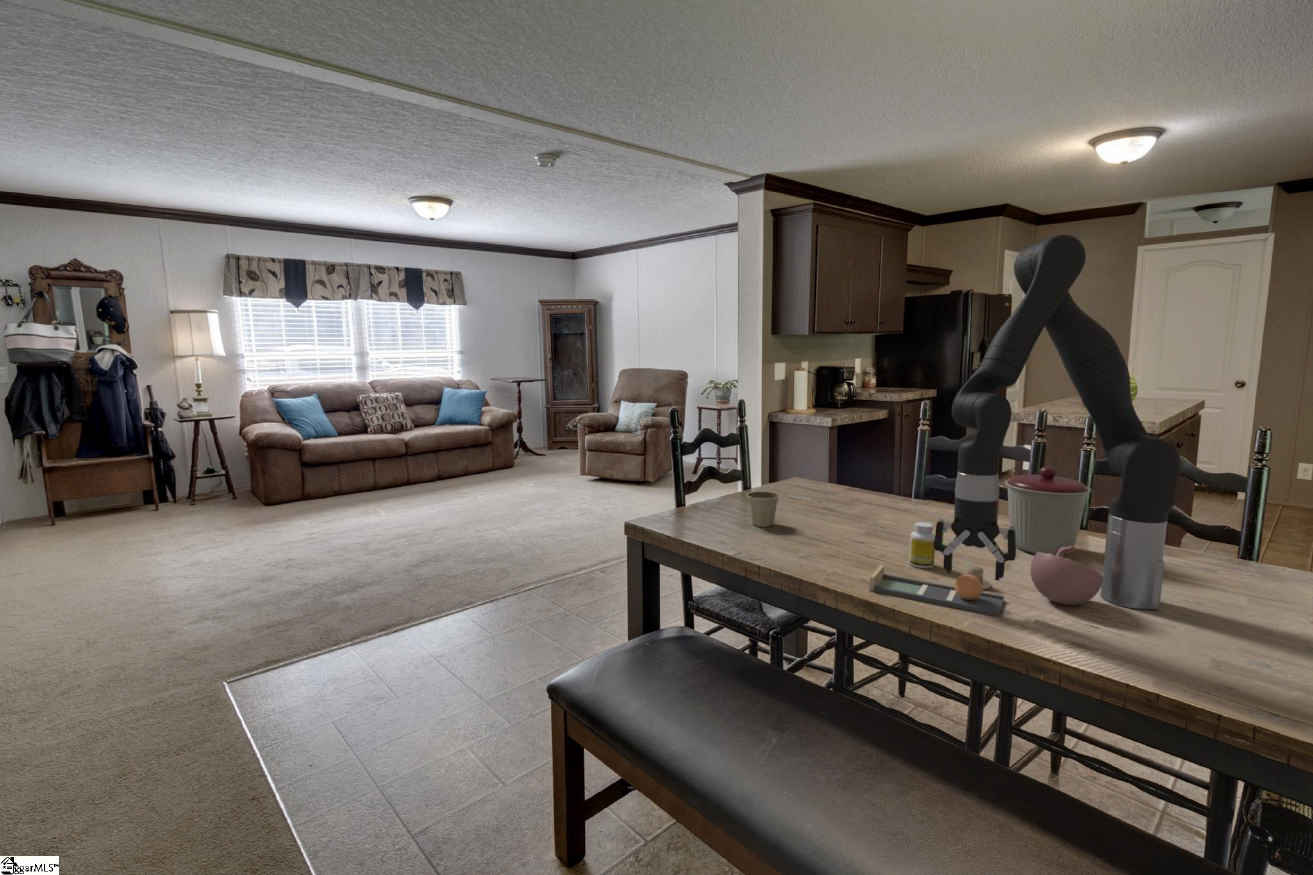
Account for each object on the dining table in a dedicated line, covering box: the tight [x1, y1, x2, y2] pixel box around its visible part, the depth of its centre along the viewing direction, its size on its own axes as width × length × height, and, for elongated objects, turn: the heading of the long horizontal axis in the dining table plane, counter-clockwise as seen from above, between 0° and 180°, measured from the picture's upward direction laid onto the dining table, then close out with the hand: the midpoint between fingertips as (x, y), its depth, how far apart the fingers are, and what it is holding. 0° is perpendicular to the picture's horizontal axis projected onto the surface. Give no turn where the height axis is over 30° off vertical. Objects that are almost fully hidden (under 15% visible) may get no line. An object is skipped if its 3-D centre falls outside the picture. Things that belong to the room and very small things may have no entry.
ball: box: [954, 574, 984, 600], centre depth 127 cm, size 5×5×5 cm
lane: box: [868, 564, 1005, 618], centre depth 130 cm, size 24×9×3 cm, turn 57°
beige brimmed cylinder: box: [967, 565, 991, 591], centre depth 136 cm, size 6×6×4 cm
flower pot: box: [746, 490, 781, 528], centre depth 182 cm, size 9×9×9 cm
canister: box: [1004, 466, 1092, 556], centre depth 158 cm, size 18×18×21 cm
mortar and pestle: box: [1029, 546, 1103, 606], centre depth 126 cm, size 12×12×11 cm
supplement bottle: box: [908, 521, 936, 569], centre depth 148 cm, size 5×5×10 cm
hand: (972, 575), depth 126 cm, fingers open, 8 cm apart
